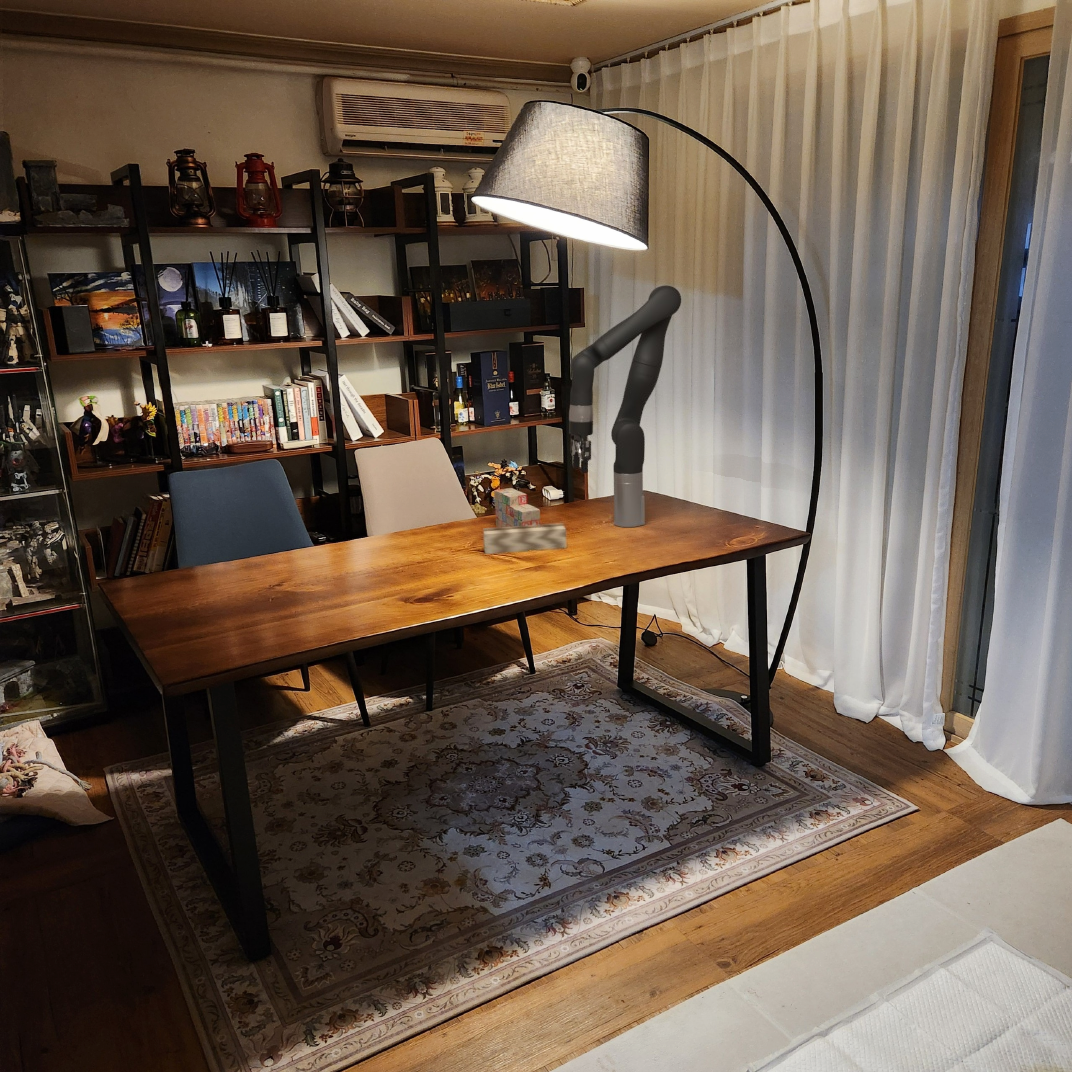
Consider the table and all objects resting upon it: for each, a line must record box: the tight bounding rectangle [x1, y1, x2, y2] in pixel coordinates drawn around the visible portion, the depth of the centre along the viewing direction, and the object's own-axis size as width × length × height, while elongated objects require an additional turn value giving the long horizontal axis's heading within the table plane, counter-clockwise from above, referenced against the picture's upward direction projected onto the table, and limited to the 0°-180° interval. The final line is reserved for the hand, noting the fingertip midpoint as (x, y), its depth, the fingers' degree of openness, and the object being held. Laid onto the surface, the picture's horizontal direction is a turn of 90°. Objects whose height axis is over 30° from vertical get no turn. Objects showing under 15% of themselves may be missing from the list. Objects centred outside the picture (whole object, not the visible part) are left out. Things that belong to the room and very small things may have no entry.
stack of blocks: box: [493, 487, 541, 527], centre depth 291 cm, size 21×6×12 cm, turn 25°
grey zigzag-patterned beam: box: [482, 522, 567, 555], centre depth 272 cm, size 24×5×7 cm, turn 98°
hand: (580, 470), depth 292 cm, fingers open, 8 cm apart
